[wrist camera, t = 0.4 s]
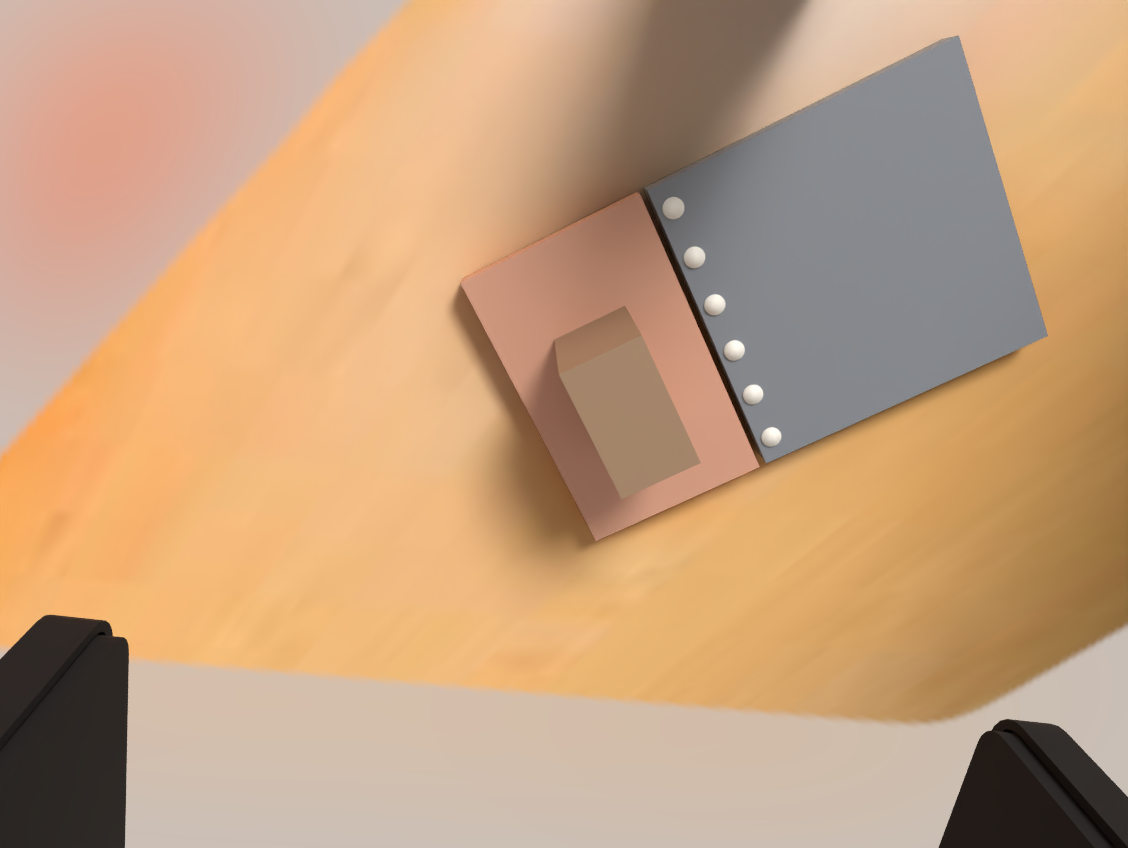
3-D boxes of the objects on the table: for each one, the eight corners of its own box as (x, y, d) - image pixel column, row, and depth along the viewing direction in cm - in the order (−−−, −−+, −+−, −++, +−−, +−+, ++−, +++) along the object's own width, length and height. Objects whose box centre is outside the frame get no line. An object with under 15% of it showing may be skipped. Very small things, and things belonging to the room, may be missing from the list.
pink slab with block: (636, 191, 32) (660, 205, 27) (753, 457, 36) (796, 519, 30) (462, 278, 33) (449, 309, 27) (594, 529, 37) (606, 603, 31)
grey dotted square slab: (943, 39, 31) (959, 35, 30) (1031, 329, 35) (1049, 336, 34) (643, 188, 33) (647, 190, 31) (758, 452, 36) (766, 463, 35)
